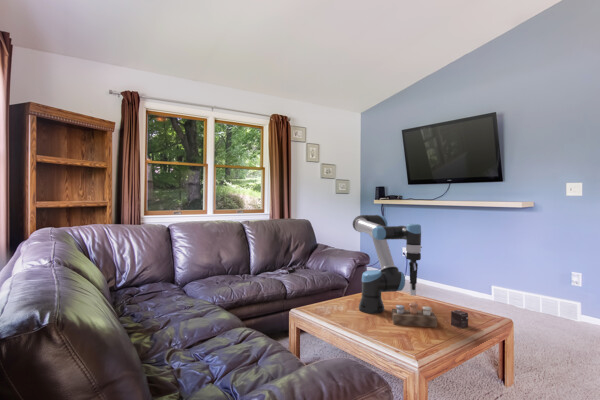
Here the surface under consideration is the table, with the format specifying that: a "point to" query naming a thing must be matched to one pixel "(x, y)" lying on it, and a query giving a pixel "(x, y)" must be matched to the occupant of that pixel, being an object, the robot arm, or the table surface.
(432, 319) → the socket block
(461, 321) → the box
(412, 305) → the terracotta plug
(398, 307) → the grey plug
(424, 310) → the cream plug
